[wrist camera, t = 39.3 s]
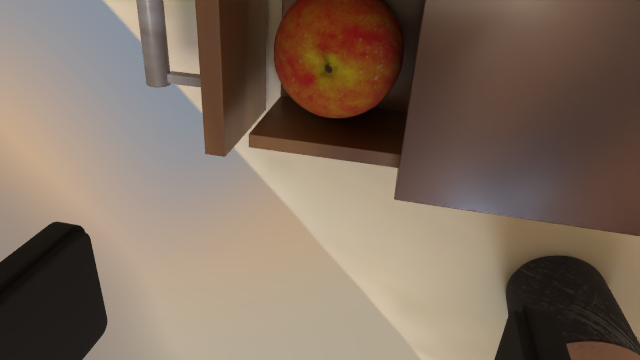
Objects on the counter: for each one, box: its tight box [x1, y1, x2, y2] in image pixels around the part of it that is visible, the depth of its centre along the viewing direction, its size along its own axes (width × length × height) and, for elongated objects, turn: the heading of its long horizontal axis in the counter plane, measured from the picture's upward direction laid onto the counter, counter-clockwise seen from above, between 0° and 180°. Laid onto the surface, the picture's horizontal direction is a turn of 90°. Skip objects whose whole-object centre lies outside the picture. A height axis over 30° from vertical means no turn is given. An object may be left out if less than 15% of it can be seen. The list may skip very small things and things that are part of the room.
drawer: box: [136, 0, 425, 168], centre depth 27 cm, size 18×11×8 cm, turn 87°
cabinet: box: [394, 0, 640, 236], centre depth 25 cm, size 15×13×10 cm
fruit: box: [274, 0, 404, 118], centre depth 25 cm, size 7×7×8 cm
